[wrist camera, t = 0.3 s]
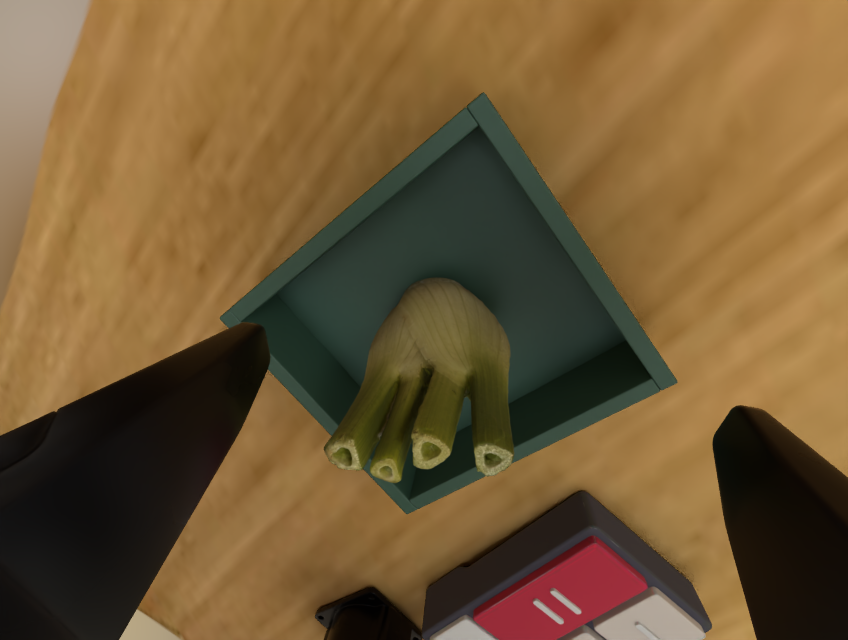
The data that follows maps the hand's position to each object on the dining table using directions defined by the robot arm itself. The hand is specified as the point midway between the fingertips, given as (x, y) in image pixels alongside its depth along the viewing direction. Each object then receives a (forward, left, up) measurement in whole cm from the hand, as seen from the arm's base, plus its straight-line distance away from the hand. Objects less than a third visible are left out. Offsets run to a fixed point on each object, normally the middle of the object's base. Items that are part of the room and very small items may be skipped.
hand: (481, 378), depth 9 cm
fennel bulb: (-5, -3, -15) cm, 16 cm away
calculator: (-11, -24, -15) cm, 30 cm away
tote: (-5, -3, -15) cm, 16 cm away
